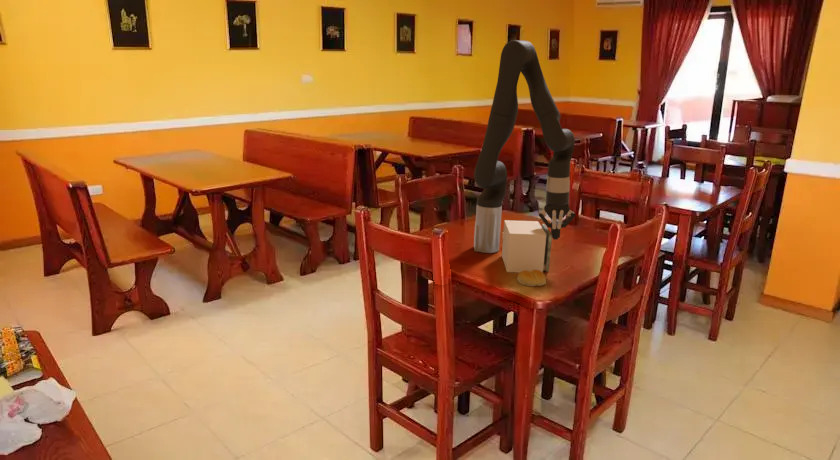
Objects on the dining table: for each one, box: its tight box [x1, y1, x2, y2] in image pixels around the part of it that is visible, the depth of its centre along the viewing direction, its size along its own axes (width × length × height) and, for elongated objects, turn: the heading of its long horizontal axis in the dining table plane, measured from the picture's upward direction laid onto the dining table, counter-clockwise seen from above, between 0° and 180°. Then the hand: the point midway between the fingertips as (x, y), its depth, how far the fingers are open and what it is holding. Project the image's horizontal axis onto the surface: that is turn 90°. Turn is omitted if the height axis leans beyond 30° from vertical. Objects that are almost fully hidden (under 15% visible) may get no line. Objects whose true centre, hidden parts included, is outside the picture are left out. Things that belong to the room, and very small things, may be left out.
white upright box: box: [501, 219, 546, 273], centre depth 199 cm, size 12×16×14 cm
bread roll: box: [516, 270, 547, 287], centre depth 184 cm, size 8×9×4 cm
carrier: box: [541, 223, 553, 272], centre depth 199 cm, size 14×14×13 cm
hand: (555, 238), depth 198 cm, fingers closed
